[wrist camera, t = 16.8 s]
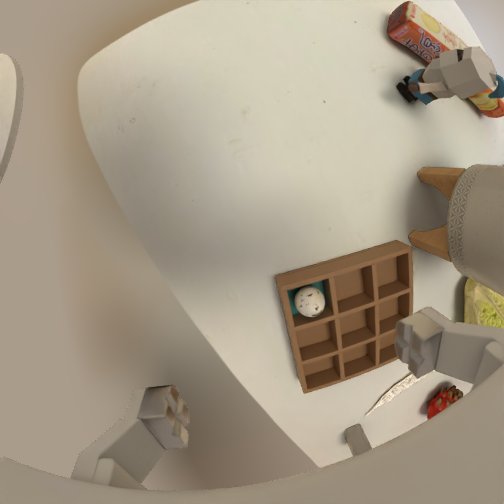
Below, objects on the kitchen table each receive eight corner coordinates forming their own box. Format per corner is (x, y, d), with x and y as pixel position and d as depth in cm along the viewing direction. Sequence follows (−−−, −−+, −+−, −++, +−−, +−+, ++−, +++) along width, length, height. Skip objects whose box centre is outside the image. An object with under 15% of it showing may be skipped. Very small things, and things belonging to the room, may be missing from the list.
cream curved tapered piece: (432, 356, 37) (437, 361, 35) (433, 371, 38) (437, 376, 36) (360, 402, 37) (363, 408, 36) (364, 414, 39) (367, 420, 37)
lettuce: (515, 238, 26) (509, 312, 20) (536, 327, 27) (523, 392, 22) (451, 258, 39) (428, 322, 33) (485, 334, 40) (466, 391, 34)
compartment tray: (274, 275, 30) (279, 287, 27) (396, 239, 30) (411, 246, 27) (298, 377, 35) (303, 394, 31) (398, 341, 35) (410, 353, 31)
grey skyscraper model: (360, 422, 39) (383, 470, 28) (361, 436, 41) (382, 480, 29) (344, 429, 39) (365, 478, 28) (346, 442, 41) (365, 487, 29)
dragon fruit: (442, 370, 40) (427, 401, 45) (427, 402, 36) (412, 430, 40) (475, 381, 34) (456, 412, 39) (463, 415, 29) (442, 441, 34)
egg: (289, 306, 31) (299, 328, 26) (292, 280, 30) (303, 299, 25) (316, 306, 31) (329, 327, 26) (319, 280, 30) (335, 298, 25)
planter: (475, 221, 31) (564, 251, 14) (425, 276, 32) (517, 334, 15) (445, 146, 28) (550, 146, 10) (388, 198, 29) (509, 227, 12)
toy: (410, 61, 24) (485, 25, 10) (438, 97, 26) (518, 78, 11) (378, 90, 25) (463, 52, 11) (410, 130, 27) (501, 116, 12)
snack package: (381, 39, 23) (408, 18, 17) (388, 11, 22) (411, -9, 15) (482, 121, 27) (512, 118, 20) (485, 91, 25) (512, 86, 19)
